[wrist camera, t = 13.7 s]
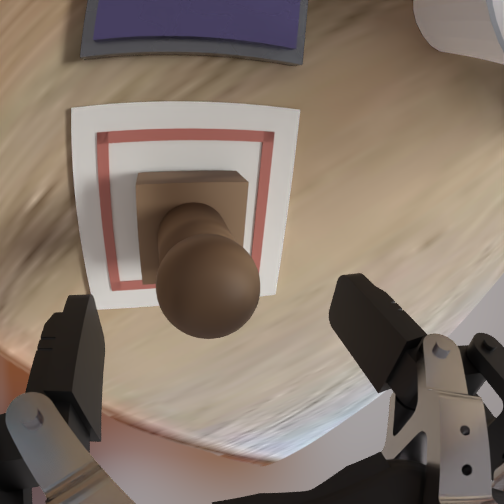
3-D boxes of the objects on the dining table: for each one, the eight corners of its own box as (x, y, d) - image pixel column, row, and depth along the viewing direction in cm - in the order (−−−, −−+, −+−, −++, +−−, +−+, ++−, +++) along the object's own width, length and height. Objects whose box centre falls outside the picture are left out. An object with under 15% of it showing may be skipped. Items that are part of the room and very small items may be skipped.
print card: (298, 109, 16) (301, 109, 15) (273, 292, 21) (275, 295, 21) (72, 107, 12) (70, 108, 12) (95, 306, 18) (94, 310, 17)
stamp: (234, 168, 16) (309, 239, 9) (228, 252, 18) (283, 362, 11) (138, 170, 15) (123, 249, 7) (142, 257, 17) (146, 380, 9)
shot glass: (425, 67, 16) (505, 77, 10) (393, -19, 13) (472, -33, 7) (469, 53, 16) (537, 63, 11) (444, -20, 13) (513, -24, 7)
